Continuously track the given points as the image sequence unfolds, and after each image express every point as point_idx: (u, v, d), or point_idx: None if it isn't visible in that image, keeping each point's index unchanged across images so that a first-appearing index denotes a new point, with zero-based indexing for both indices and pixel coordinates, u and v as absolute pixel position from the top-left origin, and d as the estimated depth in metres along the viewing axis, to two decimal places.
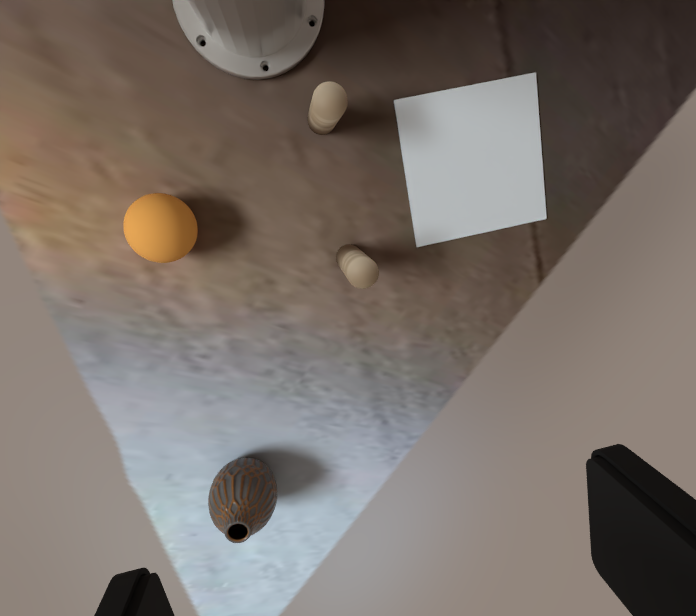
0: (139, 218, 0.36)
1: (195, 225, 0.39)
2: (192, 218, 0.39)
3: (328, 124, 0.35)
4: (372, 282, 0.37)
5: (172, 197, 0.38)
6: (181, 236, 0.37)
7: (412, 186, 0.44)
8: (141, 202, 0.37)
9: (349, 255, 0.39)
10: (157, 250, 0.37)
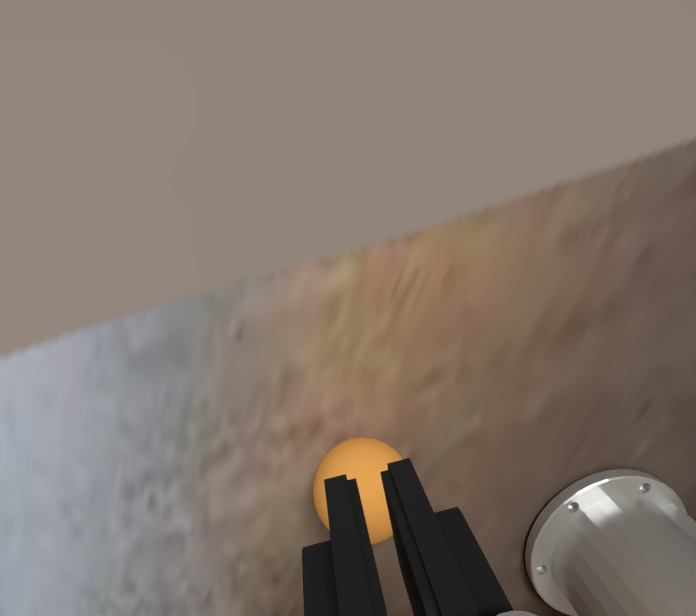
0: None
1: None
2: None
3: None
4: None
5: None
6: None
7: None
8: None
9: None
10: None
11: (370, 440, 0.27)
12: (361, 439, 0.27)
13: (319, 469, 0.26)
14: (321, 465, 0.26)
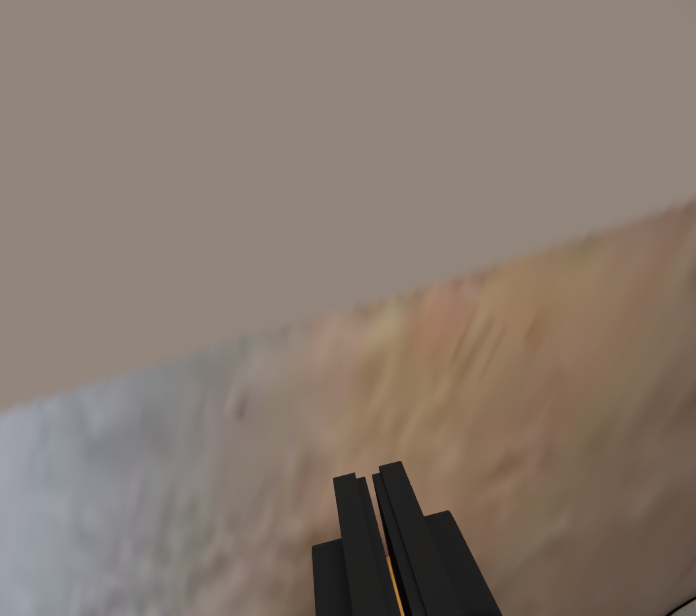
0: None
1: None
2: None
3: None
4: None
5: None
6: None
7: None
8: None
9: None
10: None
11: None
12: None
13: None
14: None
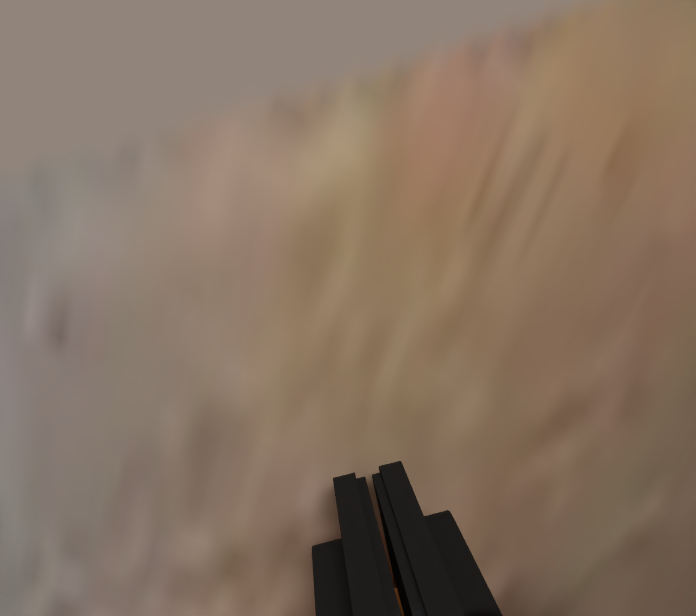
0: None
1: None
2: None
3: None
4: None
5: None
6: None
7: None
8: None
9: None
10: None
11: None
12: None
13: None
14: None
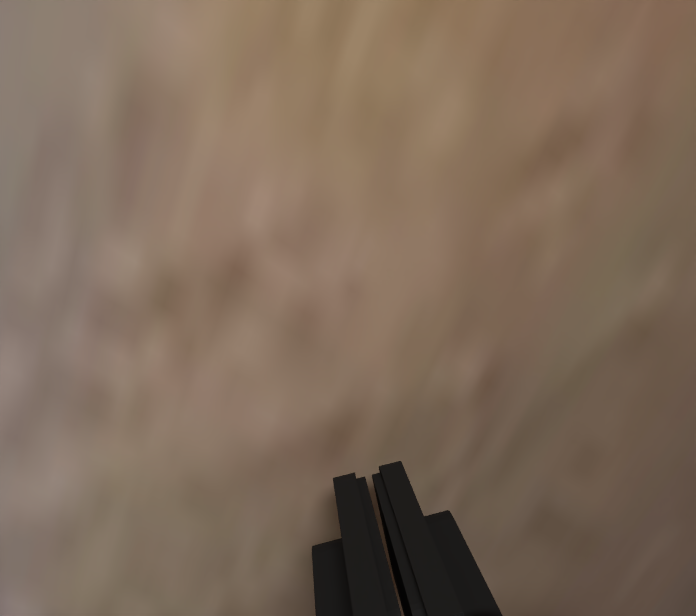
0: None
1: None
2: None
3: None
4: None
5: None
6: None
7: None
8: None
9: None
10: None
11: None
12: None
13: None
14: None
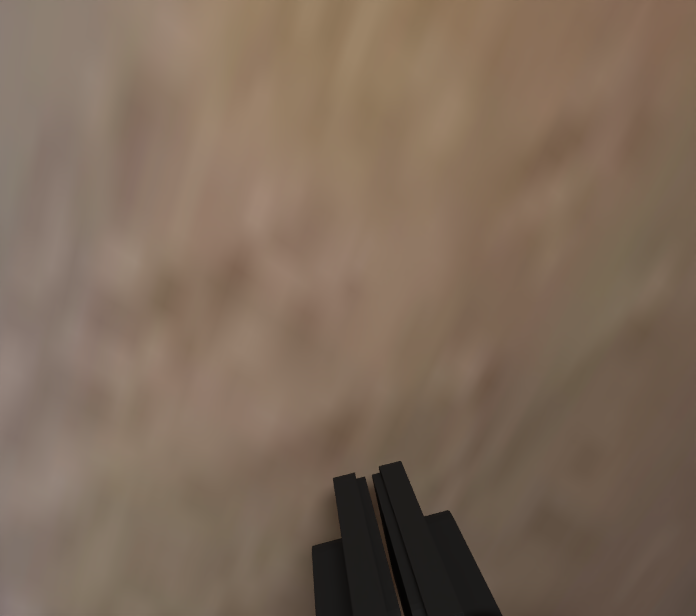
0: None
1: None
2: None
3: None
4: None
5: None
6: None
7: None
8: None
9: None
10: None
11: None
12: None
13: None
14: None
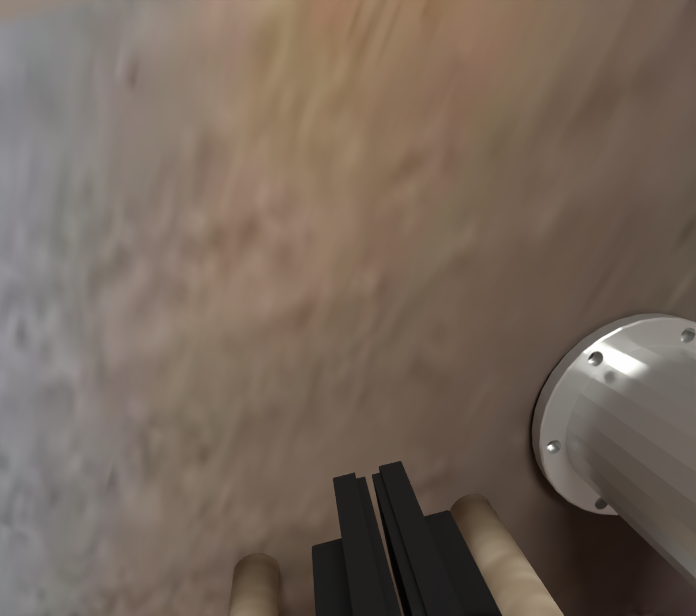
0: None
1: None
2: None
3: None
4: None
5: None
6: None
7: None
8: None
9: None
10: None
11: None
12: None
13: None
14: None
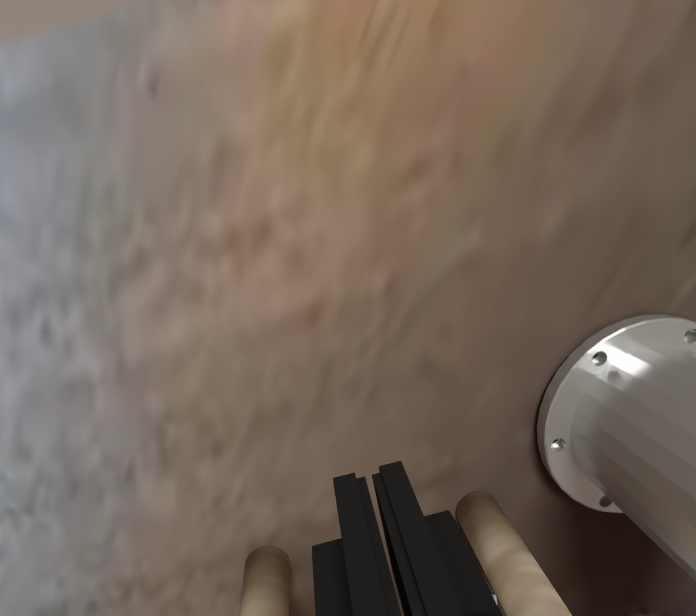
0: None
1: None
2: None
3: (506, 610, 0.21)
4: None
5: None
6: None
7: None
8: None
9: None
10: None
11: None
12: None
13: None
14: None
